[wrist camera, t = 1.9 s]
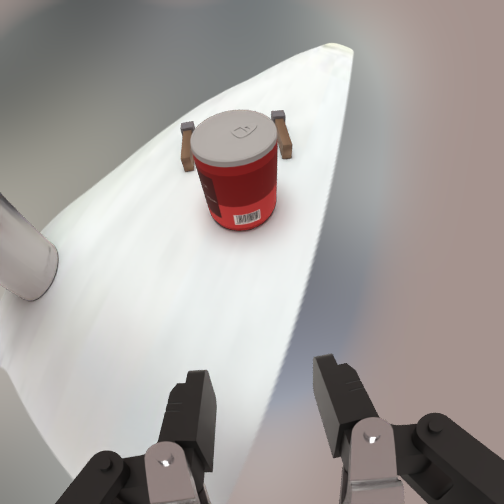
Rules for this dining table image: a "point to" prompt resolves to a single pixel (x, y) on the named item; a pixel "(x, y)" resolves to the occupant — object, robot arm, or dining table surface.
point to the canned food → (237, 167)
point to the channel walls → (282, 140)
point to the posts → (274, 115)
